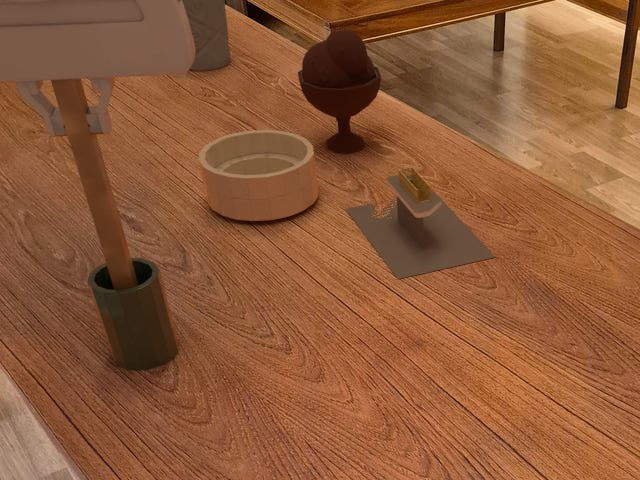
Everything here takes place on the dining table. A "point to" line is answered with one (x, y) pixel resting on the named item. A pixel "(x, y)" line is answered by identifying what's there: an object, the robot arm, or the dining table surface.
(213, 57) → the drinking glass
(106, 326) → the crock
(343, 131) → the ice cream bowl
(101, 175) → the brown wooden stick
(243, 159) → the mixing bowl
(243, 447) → the dining table surface
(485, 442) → the dining table surface
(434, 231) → the platform
